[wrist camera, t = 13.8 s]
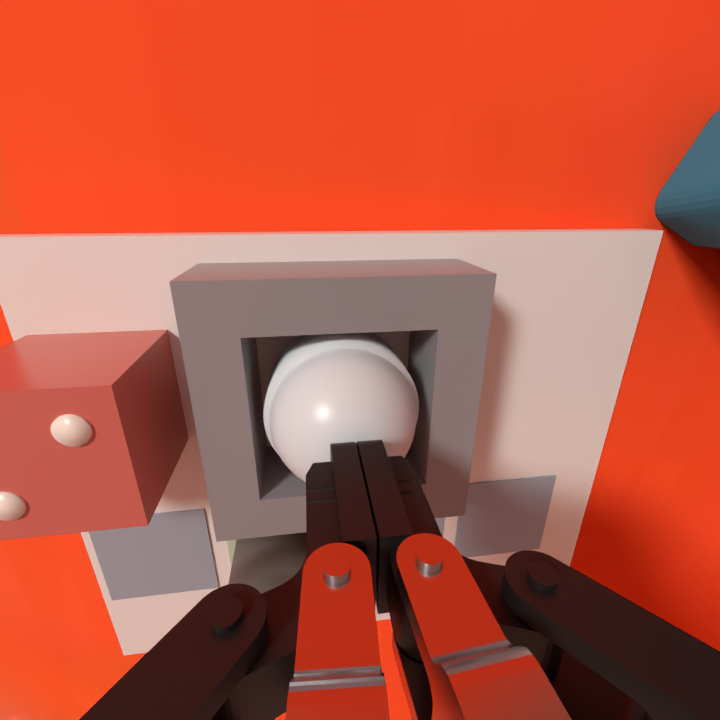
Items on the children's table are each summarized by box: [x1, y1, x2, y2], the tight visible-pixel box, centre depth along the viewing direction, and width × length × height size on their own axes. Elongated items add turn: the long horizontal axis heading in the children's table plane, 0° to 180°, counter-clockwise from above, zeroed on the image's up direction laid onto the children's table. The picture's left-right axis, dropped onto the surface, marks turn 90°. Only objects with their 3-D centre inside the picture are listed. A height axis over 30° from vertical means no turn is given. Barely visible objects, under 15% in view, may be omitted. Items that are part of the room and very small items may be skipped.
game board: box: [0, 229, 663, 655], centre depth 20 cm, size 26×22×1 cm
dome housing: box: [169, 259, 497, 542], centre depth 16 cm, size 10×10×4 cm
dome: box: [263, 332, 419, 482], centre depth 14 cm, size 6×6×5 cm
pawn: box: [228, 532, 307, 594], centre depth 17 cm, size 4×4×6 cm
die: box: [0, 330, 189, 540], centre depth 14 cm, size 5×5×5 cm
